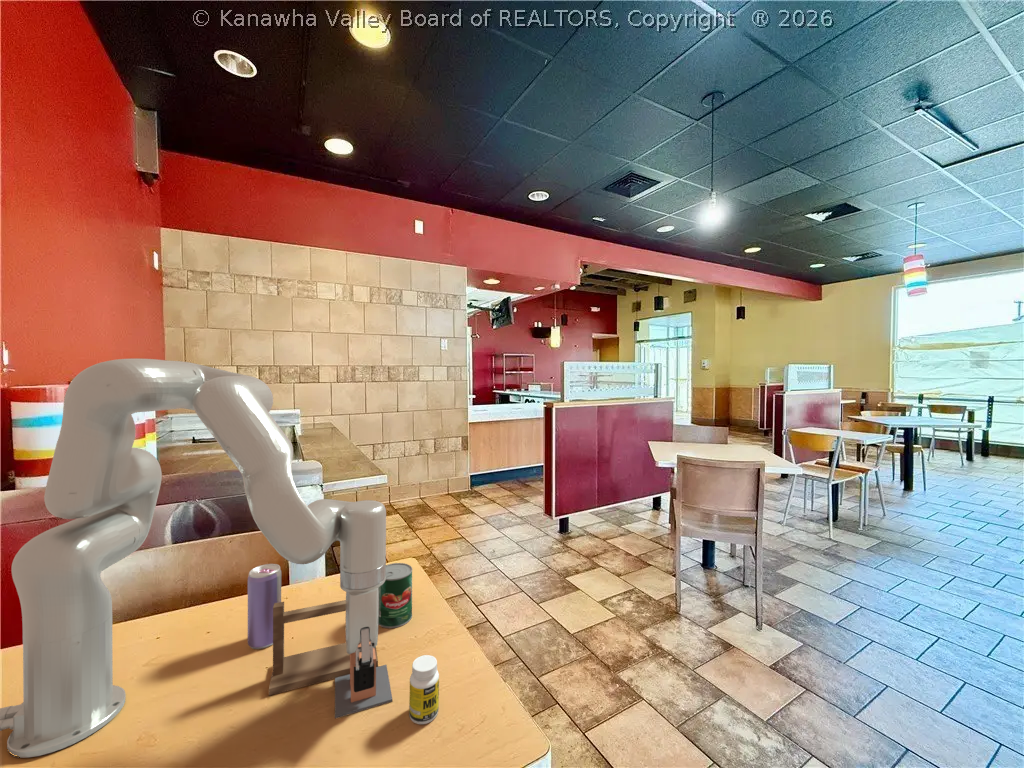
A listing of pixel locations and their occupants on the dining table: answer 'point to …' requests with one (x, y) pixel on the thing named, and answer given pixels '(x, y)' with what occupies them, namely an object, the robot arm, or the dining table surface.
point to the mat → (347, 707)
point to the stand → (307, 664)
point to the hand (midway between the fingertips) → (362, 673)
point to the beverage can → (262, 604)
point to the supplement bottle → (424, 690)
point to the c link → (354, 695)
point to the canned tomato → (396, 596)
